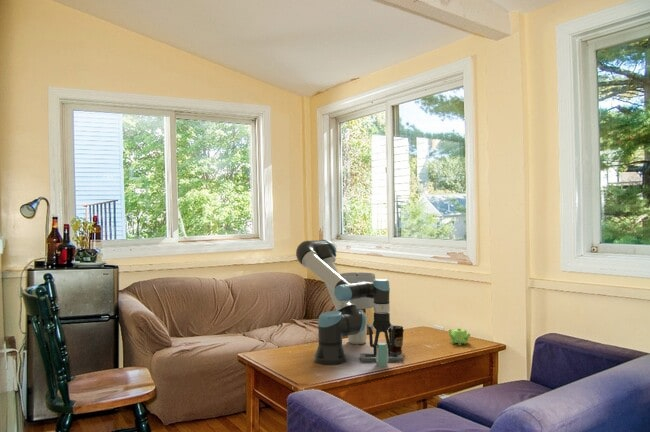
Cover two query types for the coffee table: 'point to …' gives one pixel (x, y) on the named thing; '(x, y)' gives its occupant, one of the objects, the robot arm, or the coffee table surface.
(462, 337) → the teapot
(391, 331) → the robot arm
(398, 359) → the grey flat frame
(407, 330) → the coffee table surface
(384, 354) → the teal brick
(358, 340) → the lamp
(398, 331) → the coffee cup
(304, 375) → the coffee table surface
